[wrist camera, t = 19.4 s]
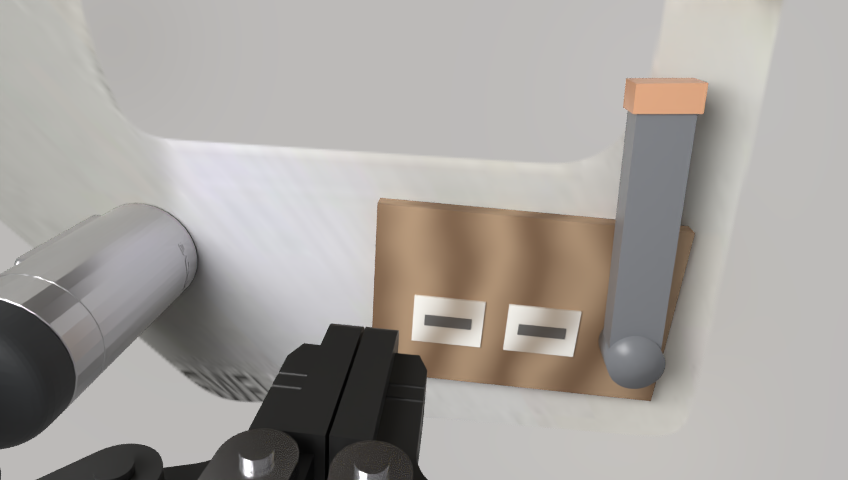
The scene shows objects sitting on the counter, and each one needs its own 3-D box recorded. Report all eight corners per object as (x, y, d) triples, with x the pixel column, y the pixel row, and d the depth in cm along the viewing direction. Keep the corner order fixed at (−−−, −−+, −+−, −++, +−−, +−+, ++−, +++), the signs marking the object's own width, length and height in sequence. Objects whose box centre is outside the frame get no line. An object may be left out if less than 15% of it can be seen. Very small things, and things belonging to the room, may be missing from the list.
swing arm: (649, 363, 50) (662, 389, 47) (594, 361, 51) (603, 387, 47) (692, 77, 42) (711, 84, 38) (625, 78, 42) (638, 84, 38)
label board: (373, 361, 55) (370, 373, 53) (380, 197, 49) (377, 205, 47) (646, 390, 54) (651, 403, 52) (688, 226, 47) (696, 234, 46)
